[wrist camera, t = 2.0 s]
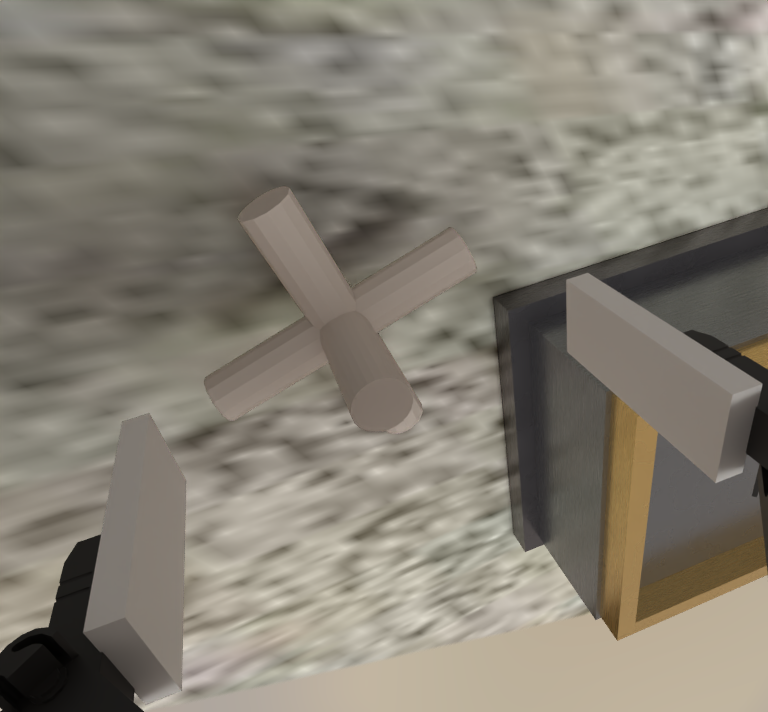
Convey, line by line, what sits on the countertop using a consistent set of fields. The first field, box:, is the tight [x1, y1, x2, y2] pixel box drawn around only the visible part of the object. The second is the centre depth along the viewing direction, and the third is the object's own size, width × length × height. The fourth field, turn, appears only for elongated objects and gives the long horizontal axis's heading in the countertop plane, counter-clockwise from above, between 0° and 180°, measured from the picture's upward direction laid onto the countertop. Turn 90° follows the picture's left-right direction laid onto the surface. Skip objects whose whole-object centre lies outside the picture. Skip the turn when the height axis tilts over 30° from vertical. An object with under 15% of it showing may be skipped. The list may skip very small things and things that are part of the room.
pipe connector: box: [204, 186, 477, 434], centre depth 20 cm, size 10×10×10 cm
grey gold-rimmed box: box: [493, 208, 768, 641], centre depth 30 cm, size 18×22×9 cm
